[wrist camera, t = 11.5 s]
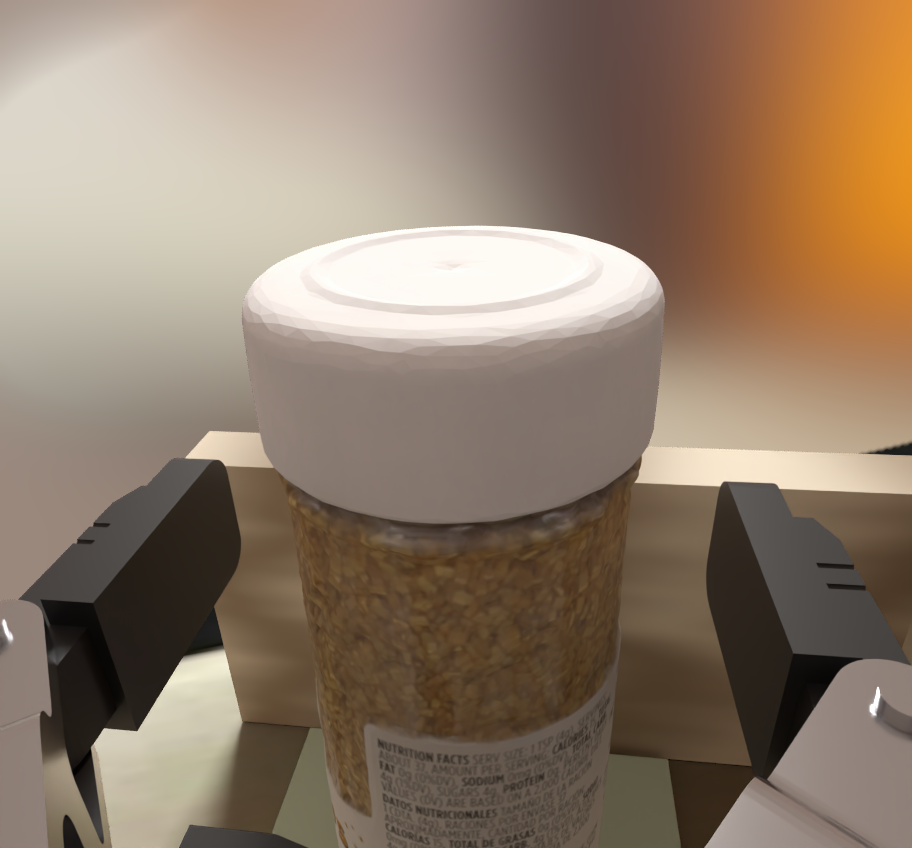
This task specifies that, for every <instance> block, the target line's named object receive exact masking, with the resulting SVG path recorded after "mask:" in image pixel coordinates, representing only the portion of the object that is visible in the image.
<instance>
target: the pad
mask: <svg viewBox="0 0 912 848" xmlns="http://www.w3.org/2000/svg"><path fill="white" fill-rule="evenodd" d="M272 834H277V835H279V836H282V837H284V838H286V839H289V840H291V841H294V842H296V843H298V844H301V845H303V846H306V847H308V848H339V846H338V840H337V834H336V828H335V821H334V814H333V808H332V801H331V795H330V790H329V784H328V779H327V773H326V764H325V751H324V737H323V732H322V729H320V728H310V730H309V732H308V735H307V738H306V741H305V743H304V746H303V749H302V751H301V754H300V757H299V760H298V762H297V765H296V768H295V771H294V773H293V776H292V779H291V782H290V784H289V787H288V790H287V792H286V795H285V798H284V801H283V803H282V806H281V809H280V812H279V814H278V817H277V820H276V823H275V825H274V828H273V831H272ZM598 848H681V844H680V837H679V831H678V824H677V817H676V811H675V804H674V798H673V791H672V784H671V778H670V771H669V764H668V759H659V758H648V757H637V756H625V755H614V754H609V760H608V769H607V777H606V786H605V795H604V803H603V811H602V820H601V828H600V837H599V846H598Z"/></svg>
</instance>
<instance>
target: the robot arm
mask: <svg viewBox="0 0 912 848" xmlns="http://www.w3.org/2000/svg"><path fill="white" fill-rule="evenodd" d="M77 540H78V541H77V544H72V545H71V546H70V547H69V548H68V549H67V550H66V551H65V552H64V553H63V554H62V555H61V557H60V558H59V559H58V560H57V561H56V562H55V563H54V564H53V565H52V566H51V567H50V568H49V569H48V570H47V571H46V572H45V573H44V574H43V575H42V576H41V577H40V578H39V579H38V580H37V581H36V582H35V583H34V584H33V585H32V586H31V587H30V588H29V589H28V590H27V591H26V592H25V593H24V594H23V595H22V597H20V598H19V599H18V600H3V601H0V848H112V844H111V837H110V831H109V824H108V817H107V811H106V804H105V797H104V791H103V784H102V778H101V771H100V764H99V758H98V755H97V752H96V749H95V746H94V742H95V741H96V739H97V738H98V736H99V735H100V733H101V732H102V730H103V729H104V728H108V729H119V730H130V731H138V729H139V727H140V726H141V724H142V722H143V721H144V719H145V718H146V716H147V714H148V713H149V711H150V709H151V708H152V706H153V705H154V703H155V701H156V700H157V698H158V697H159V695H160V693H161V692H162V690H163V688H164V687H165V685H166V684H167V682H168V680H169V679H170V677H171V675H172V674H173V672H174V671H175V669H176V667H177V666H178V664H179V662H180V661H181V659H182V658H183V656H184V654H185V653H186V651H187V649H188V648H189V646H190V645H191V643H192V641H193V640H194V638H195V636H196V635H197V633H198V632H199V630H200V628H201V627H202V625H203V623H204V622H205V620H206V619H207V617H208V615H209V614H210V612H211V610H212V609H213V607H214V606H215V604H216V602H217V601H218V599H219V598H220V596H221V594H222V593H223V591H224V589H225V588H226V586H227V585H228V583H229V581H230V580H231V578H232V576H233V575H234V573H235V571H236V569H237V566H238V563H239V559H240V553H241V536H240V530H239V525H238V521H237V516H236V511H235V506H234V501H233V497H232V492H231V487H230V482H229V477H228V473H227V470H226V467H225V465H224V464H223V463H222V461H220V460H214V459H189V458H174V459H172V460H171V461H170V462H169V463H168V464H167V465H166V466H165V467H164V468H163V469H162V470H161V471H160V472H159V473H158V474H157V475H156V476H155V477H154V478H153V479H152V481H151V482H150V483H149V484H148V485H147V486H141V487H139V488H137V489H136V490H134V491H132V492H130V493H129V494H127V495H125V496H123V497H122V498H120V499H118V500H117V501H115V502H114V503H112V504H111V506H109V507H108V508H107V509H106V510H105V511H104V513H102V514H101V516H99V517H98V519H97V520H96V521H95V522H94V525H93V527H89V528H88V529H87V530H86V531H85V532H84V533H83V534H82V535H81V536H80V537H79V538H78V539H77ZM706 589H707V598H708V603H709V607H710V611H711V615H712V618H713V622H714V626H715V630H716V633H717V637H718V641H719V645H720V648H721V652H722V656H723V660H724V663H725V667H726V671H727V675H728V679H729V682H730V686H731V690H732V694H733V697H734V701H735V705H736V709H737V712H738V716H739V720H740V724H741V727H742V731H743V735H744V739H745V742H746V746H747V750H748V754H749V757H750V761H751V765H752V769H753V773H754V776H755V777H754V778H753V779H752V780H751V781H750V783H749V784H748V785H747V786H746V788H745V789H744V790H743V792H742V793H741V795H740V796H739V798H738V799H737V801H736V802H735V804H734V805H733V807H732V808H731V810H730V811H729V812H728V814H727V815H726V817H725V818H724V820H723V821H722V823H721V824H720V826H719V827H718V829H717V830H716V832H715V833H714V835H713V836H712V838H711V839H710V840H709V842H708V843H707V845H706V846H705V848H912V666H911V664H910V662H909V661H908V659H907V657H906V655H905V654H904V652H903V650H902V648H901V647H900V645H899V643H898V641H897V640H896V638H895V636H894V634H893V632H892V631H891V629H890V627H889V625H888V624H887V622H886V620H885V618H884V617H883V615H882V613H881V611H880V609H879V608H878V606H877V604H876V602H875V601H874V599H873V597H872V595H871V594H870V592H869V591H866V585H865V583H864V581H863V579H862V578H861V576H860V574H859V572H858V571H857V570H854V564H853V562H852V560H851V558H850V556H849V555H848V553H847V551H846V549H845V548H844V546H843V544H842V542H841V541H840V539H838V538H837V537H836V536H835V535H834V534H832V533H831V532H830V531H829V530H827V529H826V528H825V527H824V526H823V525H821V524H820V523H819V522H818V521H816V520H815V519H814V518H805V517H793V515H792V513H791V511H790V509H789V507H788V505H787V503H786V501H785V499H784V497H783V495H782V493H781V491H780V489H779V487H778V486H777V485H776V484H774V483H754V482H729V481H724V482H723V483H722V484H721V486H720V489H719V493H718V499H717V505H716V511H715V517H714V523H713V529H712V535H711V541H710V547H709V553H708V559H707V568H706ZM179 848H308V847H306V846H303V845H301V844H298V843H296V842H294V841H291V840H289V839H286V838H284V837H282V836H279V835H277V834H270V833H261V832H252V831H242V830H233V829H224V828H215V827H205V826H196V825H190V826H189V828H188V830H187V832H186V834H185V836H184V838H183V840H182V843H181V845H180V847H179Z"/></svg>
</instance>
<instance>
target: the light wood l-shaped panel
mask: <svg viewBox="0 0 912 848" xmlns="http://www.w3.org/2000/svg"><path fill="white" fill-rule="evenodd" d="M186 458H189V459H214V460H220V461H222V463H223V464H224V465H225V467H226V470H227V473H228V477H229V482H230V487H231V492H232V497H233V501H234V506H235V511H236V516H237V521H238V525H239V530H240V536H241V553H240V559H239V563H238V566H237V569H236V571H235V573H234V575H233V576H232V578H231V580H230V581H229V583H228V585H227V586H226V588H225V589H224V591H223V593H222V594H221V596H220V598H219V599H218V601H217V602H216V604H215V606H214V607H215V611H216V615H217V619H218V623H219V627H220V631H221V636H222V640H223V644H224V648H225V652H226V656H227V660H228V664H229V669H230V673H231V677H232V681H233V685H234V689H235V693H236V697H237V701H238V706H239V710H240V714H241V718H242V721H246V722H257V723H269V724H280V725H291V726H303V727H314V728H321V723H320V718H319V712H318V706H317V692H316V675H315V670H314V664H313V659H312V653H311V643H310V639H309V634H308V621H307V616H306V611H305V606H304V602H303V599H304V597H303V591H302V581H301V577H300V574H299V564H298V558H297V550H296V543H295V540H294V530H293V524H292V521H291V519H290V515H289V510H288V501H289V499H288V496H287V495H286V493H285V491H284V489H283V485H282V483H281V480H280V478H279V475H278V472H277V470H276V469H275V468H274V467H273V465H272V464H271V462H270V460H269V459H268V457H267V455H266V454H265V452H264V448H263V444H262V441H261V436H260V433H243V432H215V431H209V433H208V434H207V435H206V436H205V437H204V438H203V439H202V440H201V441H200V442H199V443H198V445H197V446H196V447H195V448H194V449H193V450H192V451H191V452H190V454H188V456H187V457H186ZM724 481H729V482H754V483H774V484H776V485H777V486H778V487H779V489H780V491H781V493H782V495H783V497H784V499H785V501H786V503H787V505H788V507H789V509H790V511H791V513H792V515H793V517H805V518H814V519H815V520H816V521H818V522H819V523H820V524H821V525H823V526H824V527H825V528H826V529H827V530H829V531H830V532H831V533H832V534H834V535H835V536H836V537H837V538H838V539H840V541H841V542H842V544H843V546H844V548H845V549H846V551H847V553H848V555H849V556H850V558H851V560H852V562H853V564H854V570H857V571H858V572H859V574H860V576H861V578H862V579H863V581H864V583H865V585H866V591H869V592H870V594H871V595H872V597H873V599H874V601H875V602H876V604H877V606H878V608H879V609H880V611H881V613H882V615H883V617H884V618H885V620H886V622H887V624H888V625H889V627H890V629H891V631H892V632H893V634H894V636H895V638H896V640H897V641H898V643H899V645H900V647H901V648H902V650H903V652H904V654H905V655H906V657H907V659H908V661H909V662H910V664H911V666H912V456H903V455H875V454H846V453H817V452H787V451H760V450H732V449H731V450H730V449H703V448H674V447H647V448H646V449H645V451H644V453H643V454H642V463H641V467H640V470H639V476H638V478H637V480H636V481H635V482H634V484H633V485H632V487H631V488H630V491H631V501H630V511H629V516H628V523H627V537H626V546H625V554H624V560H623V572H622V587H621V605H620V612H619V623H620V629H621V644H620V654H619V664H618V674H617V684H616V694H615V704H614V714H613V723H612V733H611V742H610V752H609V754H619V755H631V756H642V757H653V758H665V759H676V760H687V761H699V762H710V763H721V764H732V765H744V766H752V765H751V761H750V757H749V754H748V750H747V746H746V742H745V739H744V735H743V731H742V727H741V724H740V720H739V716H738V712H737V709H736V705H735V701H734V697H733V694H732V690H731V686H730V682H729V679H728V675H727V671H726V667H725V663H724V660H723V656H722V652H721V648H720V645H719V641H718V637H717V633H716V630H715V626H714V622H713V618H712V615H711V611H710V607H709V603H708V598H707V589H706V568H707V559H708V553H709V547H710V541H711V535H712V529H713V523H714V517H715V511H716V505H717V499H718V493H719V489H720V486H721V484H722V483H723V482H724Z"/></svg>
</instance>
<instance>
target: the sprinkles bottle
mask: <svg viewBox="0 0 912 848" xmlns="http://www.w3.org/2000/svg"><path fill="white" fill-rule="evenodd" d="M664 305H665V300H664V295H663V289H662V287H661V284H660V282H659V280H658V279H657V277H656V276H655V274H654V273H653V271H652V270H651V269H650V268H649V267H648V266H647V265H646V264H645V263H644V262H642V261H641V260H639V259H638V258H637V257H635V256H633V255H631V254H629V253H628V252H626V251H624V250H622V249H619V248H617V247H614V246H612V245H609V244H606V243H602V242H599V241H596V240H593V239H589V238H585V237H581V236H576V235H572V234H566V233H560V232H553V231H545V230H536V229H528V228H515V227H498V226H497V227H496V226H452V227H433V228H417V229H406V230H397V231H389V232H382V233H376V234H369V235H364V236H358V237H354V238H348V239H343V240H339V241H336V242H332V243H329V244H325V245H321V246H318V247H314V248H311V249H308V250H306V251H303V252H301V253H298V254H296V255H293V256H291V257H288V258H286V259H284V260H282V261H280V262H279V263H277V264H275V265H274V266H272V267H271V268H269V269H268V270H267V271H265V272H264V273H263V274H262V275H261V276H260V277H258V279H256V280H255V281H254V283H253V284H252V285H251V287H250V289H249V291H248V292H247V294H246V296H245V299H244V304H243V308H242V325H243V331H244V339H245V346H246V353H247V361H248V368H249V374H250V381H251V386H252V392H253V397H254V403H255V409H256V414H257V420H258V425H259V430H260V436H261V441H262V444H263V448H264V452H265V454H266V455H267V457H268V459H269V460H270V462H271V464H272V465H273V467H274V468H275V469H276V470H277V472H278V475H279V478H280V480H281V483H282V485H283V489H284V491H285V493H286V495H287V496H288V499H289V501H288V510H289V515H290V519H291V521H292V524H293V530H294V540H295V543H296V550H297V558H298V564H299V574H300V577H301V581H302V591H303V597H304V599H303V602H304V606H305V611H306V616H307V621H308V634H309V639H310V643H311V653H312V659H313V664H314V670H315V675H316V692H317V706H318V712H319V718H320V723H321V728H322V732H323V737H324V751H325V764H326V773H327V779H328V784H329V790H330V795H331V801H332V808H333V814H334V821H335V828H336V834H337V840H338V846H339V848H598V846H599V837H600V828H601V820H602V811H603V803H604V795H605V786H606V777H607V769H608V760H609V752H610V742H611V733H612V723H613V714H614V704H615V694H616V684H617V674H618V664H619V654H620V644H621V629H620V623H619V612H620V605H621V587H622V572H623V560H624V554H625V546H626V537H627V523H628V516H629V511H630V501H631V491H630V488H631V487H632V485H633V484H634V482H635V481H636V480H637V478H638V476H639V470H640V467H641V463H642V454H643V453H644V451H645V449H646V448H647V446H648V444H649V441H650V439H651V436H652V433H653V429H654V419H655V411H656V403H657V395H658V386H659V375H660V363H661V353H662V337H663V320H664V307H665V306H664Z"/></svg>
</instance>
